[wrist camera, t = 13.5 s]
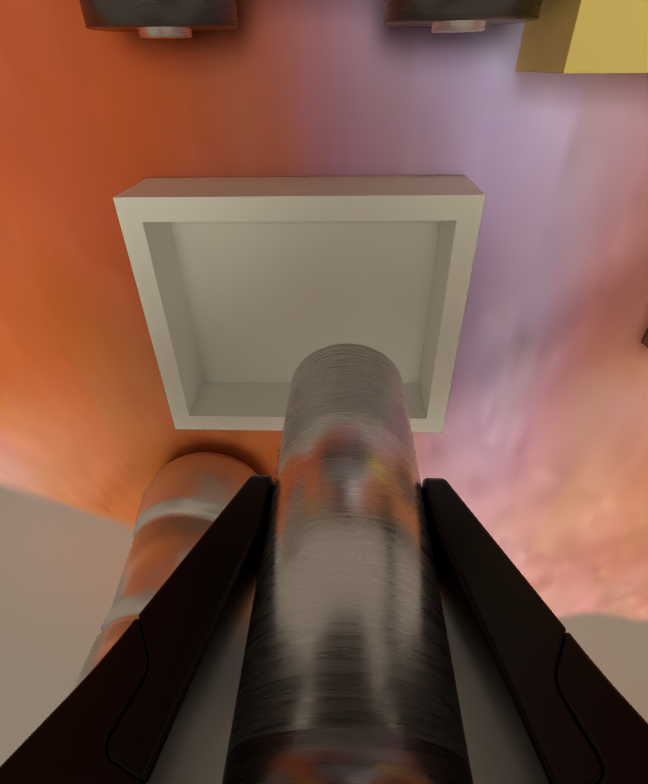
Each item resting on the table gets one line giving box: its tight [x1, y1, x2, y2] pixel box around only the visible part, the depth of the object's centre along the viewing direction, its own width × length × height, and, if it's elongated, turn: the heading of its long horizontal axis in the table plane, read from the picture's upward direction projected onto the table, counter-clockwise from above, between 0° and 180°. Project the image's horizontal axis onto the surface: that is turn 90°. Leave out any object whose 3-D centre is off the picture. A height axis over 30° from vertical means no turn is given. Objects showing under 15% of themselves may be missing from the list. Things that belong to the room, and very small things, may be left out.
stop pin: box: [222, 343, 473, 784], centre depth 8 cm, size 3×3×9 cm
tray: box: [113, 175, 485, 433], centre depth 18 cm, size 12×10×3 cm
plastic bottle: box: [66, 452, 257, 698], centre depth 18 cm, size 6×7×20 cm
